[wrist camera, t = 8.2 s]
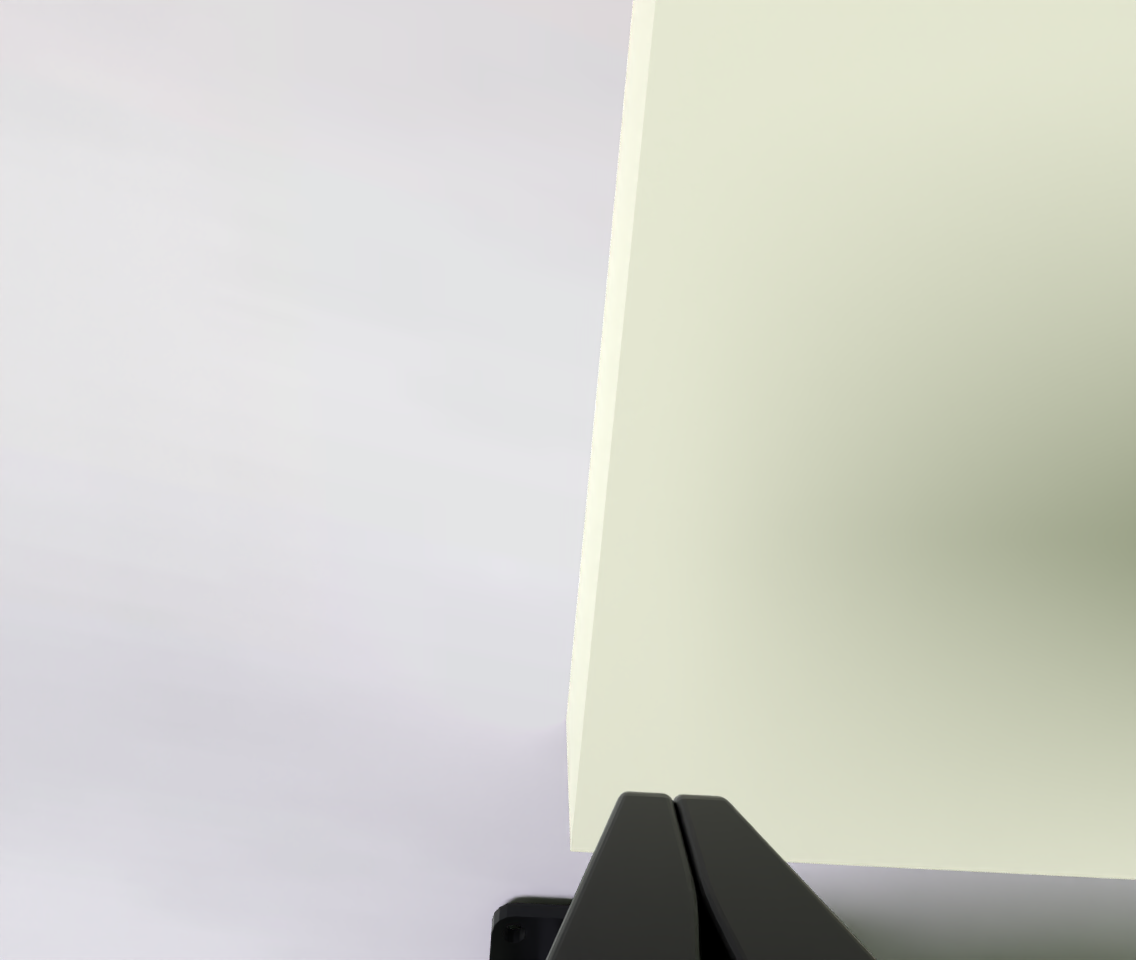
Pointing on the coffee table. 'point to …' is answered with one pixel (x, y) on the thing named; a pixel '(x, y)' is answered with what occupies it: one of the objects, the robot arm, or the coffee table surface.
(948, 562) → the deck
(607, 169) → the coffee table surface
